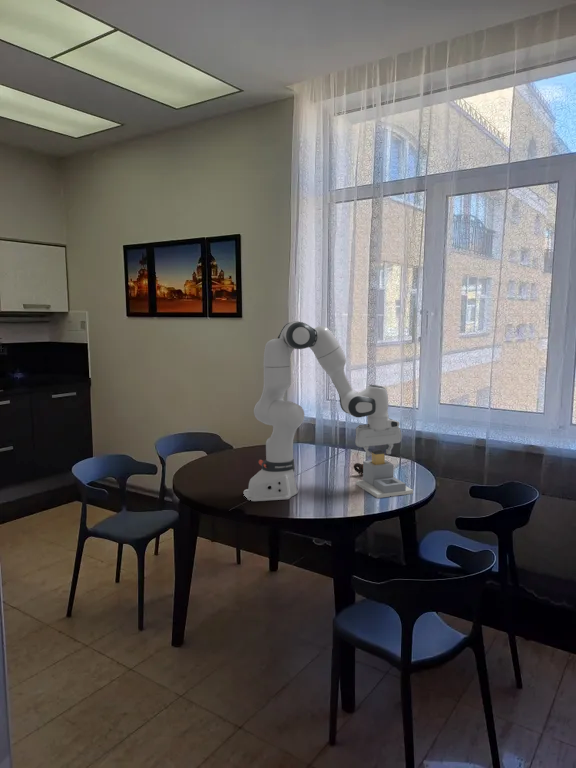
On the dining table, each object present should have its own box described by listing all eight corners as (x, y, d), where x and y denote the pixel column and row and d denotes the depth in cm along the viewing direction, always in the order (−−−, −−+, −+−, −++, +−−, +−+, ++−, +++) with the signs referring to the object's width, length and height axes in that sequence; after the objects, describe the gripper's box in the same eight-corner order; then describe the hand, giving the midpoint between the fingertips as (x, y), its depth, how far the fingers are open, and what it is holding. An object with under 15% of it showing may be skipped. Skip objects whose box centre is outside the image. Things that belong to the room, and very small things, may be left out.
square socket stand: (377, 498, 210) (377, 473, 209) (356, 484, 229) (356, 461, 228) (413, 493, 215) (413, 469, 214) (389, 480, 234) (389, 458, 233)
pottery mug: (377, 474, 246) (382, 461, 241) (376, 488, 238) (380, 475, 233) (352, 467, 247) (356, 454, 242) (350, 481, 239) (354, 468, 235)
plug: (376, 471, 223) (375, 452, 222) (371, 468, 227) (371, 450, 226) (384, 470, 224) (384, 451, 224) (380, 467, 228) (380, 449, 227)
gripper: (358, 426, 217) (359, 459, 219) (402, 422, 224) (403, 454, 225) (352, 424, 223) (353, 456, 225) (395, 419, 229) (395, 450, 231)
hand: (378, 455), depth 225 cm, fingers open, 8 cm apart
